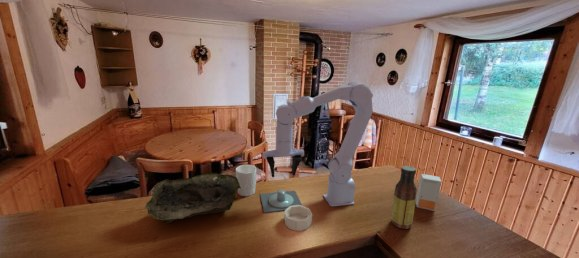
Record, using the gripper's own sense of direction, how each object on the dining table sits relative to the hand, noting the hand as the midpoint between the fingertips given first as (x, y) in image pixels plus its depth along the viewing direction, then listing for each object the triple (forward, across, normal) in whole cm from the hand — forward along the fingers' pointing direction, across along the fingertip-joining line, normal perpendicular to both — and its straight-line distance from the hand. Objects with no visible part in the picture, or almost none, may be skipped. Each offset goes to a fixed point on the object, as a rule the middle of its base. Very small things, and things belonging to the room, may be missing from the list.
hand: (283, 175), depth 86 cm
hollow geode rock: (+11, +29, +4) cm, 31 cm away
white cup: (+10, +13, -9) cm, 19 cm away
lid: (+10, +1, +1) cm, 10 cm away
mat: (+10, +1, 0) cm, 10 cm away
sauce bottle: (+11, -35, +21) cm, 42 cm away
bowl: (+10, -2, +14) cm, 17 cm away
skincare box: (+11, -51, +14) cm, 54 cm away
